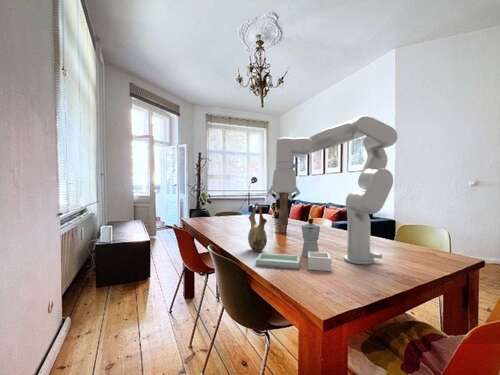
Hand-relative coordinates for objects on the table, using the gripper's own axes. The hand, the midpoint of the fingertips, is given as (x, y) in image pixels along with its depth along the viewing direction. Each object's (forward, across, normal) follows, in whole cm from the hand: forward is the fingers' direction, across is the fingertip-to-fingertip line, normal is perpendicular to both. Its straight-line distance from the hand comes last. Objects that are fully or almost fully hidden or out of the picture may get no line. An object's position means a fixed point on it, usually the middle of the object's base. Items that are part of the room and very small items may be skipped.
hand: (283, 208), depth 107 cm
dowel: (+7, 0, 0) cm, 7 cm away
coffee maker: (+24, -12, -17) cm, 32 cm away
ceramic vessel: (+24, +14, -19) cm, 34 cm away
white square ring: (+24, -15, 0) cm, 28 cm away
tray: (+24, +2, 0) cm, 24 cm away
